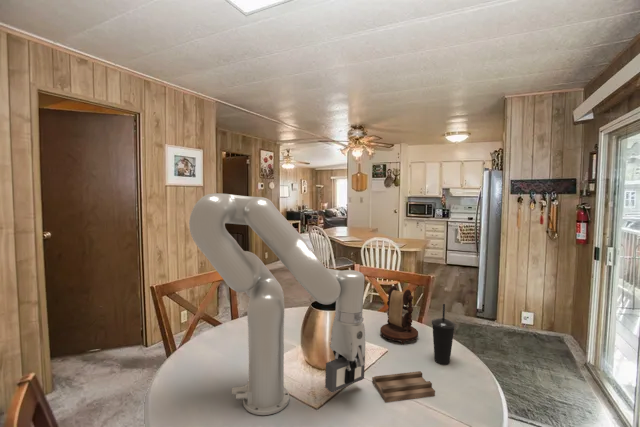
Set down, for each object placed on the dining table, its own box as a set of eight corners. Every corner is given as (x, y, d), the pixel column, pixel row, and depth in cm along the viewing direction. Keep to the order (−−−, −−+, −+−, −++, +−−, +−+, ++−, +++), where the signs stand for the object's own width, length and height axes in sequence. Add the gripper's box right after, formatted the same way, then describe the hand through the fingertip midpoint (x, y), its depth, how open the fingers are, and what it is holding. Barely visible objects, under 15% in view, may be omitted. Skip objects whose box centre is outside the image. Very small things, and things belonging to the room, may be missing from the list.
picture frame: (332, 393, 88) (333, 368, 88) (325, 387, 91) (326, 362, 90) (364, 378, 96) (365, 355, 95) (356, 373, 98) (357, 351, 98)
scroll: (372, 335, 132) (373, 287, 131) (394, 326, 142) (395, 280, 141) (404, 349, 122) (405, 295, 120) (425, 337, 132) (426, 288, 130)
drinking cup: (441, 369, 108) (443, 309, 107) (425, 358, 115) (427, 302, 114) (459, 364, 111) (461, 306, 109) (442, 354, 118) (444, 299, 116)
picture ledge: (385, 402, 90) (385, 392, 90) (372, 381, 100) (372, 373, 100) (434, 395, 93) (435, 386, 93) (417, 376, 103) (417, 368, 103)
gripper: (379, 322, 88) (375, 389, 89) (339, 304, 101) (336, 362, 102) (359, 328, 83) (354, 398, 84) (320, 308, 96) (316, 369, 97)
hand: (344, 378), depth 93 cm, fingers closed on picture frame, 3 cm apart
